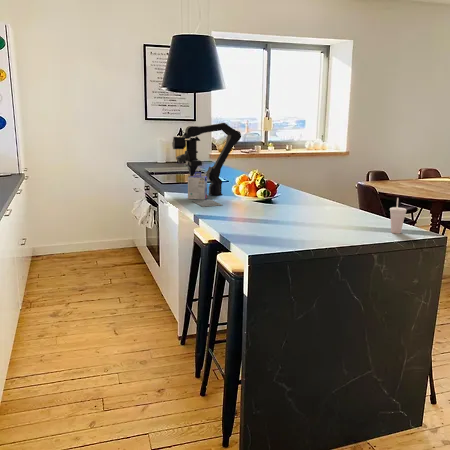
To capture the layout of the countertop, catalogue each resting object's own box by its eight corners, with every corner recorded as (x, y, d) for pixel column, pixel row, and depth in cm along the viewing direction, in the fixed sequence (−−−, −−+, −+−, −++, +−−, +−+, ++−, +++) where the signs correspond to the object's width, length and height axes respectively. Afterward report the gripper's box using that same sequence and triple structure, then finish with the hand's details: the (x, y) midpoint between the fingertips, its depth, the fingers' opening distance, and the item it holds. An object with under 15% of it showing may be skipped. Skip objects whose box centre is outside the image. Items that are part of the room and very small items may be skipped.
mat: (211, 200, 254) (211, 199, 254) (222, 205, 240) (222, 205, 240) (192, 201, 250) (192, 200, 250) (202, 206, 236) (202, 206, 236)
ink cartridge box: (207, 198, 260) (207, 172, 257) (205, 200, 255) (205, 173, 252) (190, 197, 262) (190, 171, 259) (187, 199, 257) (187, 172, 254)
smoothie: (384, 230, 192) (388, 196, 189) (400, 230, 193) (403, 196, 189) (391, 234, 186) (395, 199, 183) (407, 234, 186) (410, 199, 183)
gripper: (172, 148, 267) (173, 175, 271) (182, 150, 250) (182, 180, 254) (191, 147, 271) (191, 174, 275) (202, 150, 254) (202, 179, 258)
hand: (191, 177), depth 265 cm, fingers closed
